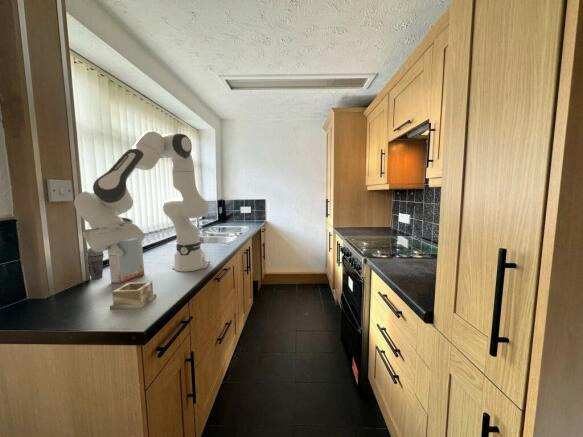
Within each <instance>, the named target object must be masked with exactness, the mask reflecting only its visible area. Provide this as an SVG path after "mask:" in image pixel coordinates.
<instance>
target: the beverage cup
mask: <svg viewBox="0 0 583 437" xmlns="http://www.w3.org/2000/svg"><path fill="white" fill-rule="evenodd" d="M86 252H87V253H88V262H87V266H88V265H89V267H88V271H89V276H90V279H91V280H99V279H102V278H103V273H104V272H103V270H104V269H103V268H104V267H103V266H104V263H103V260H104V255H105V254H104V251H100V252H95V251H93V250H92V249H91V248H88V250H87V251H86Z"/></svg>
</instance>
